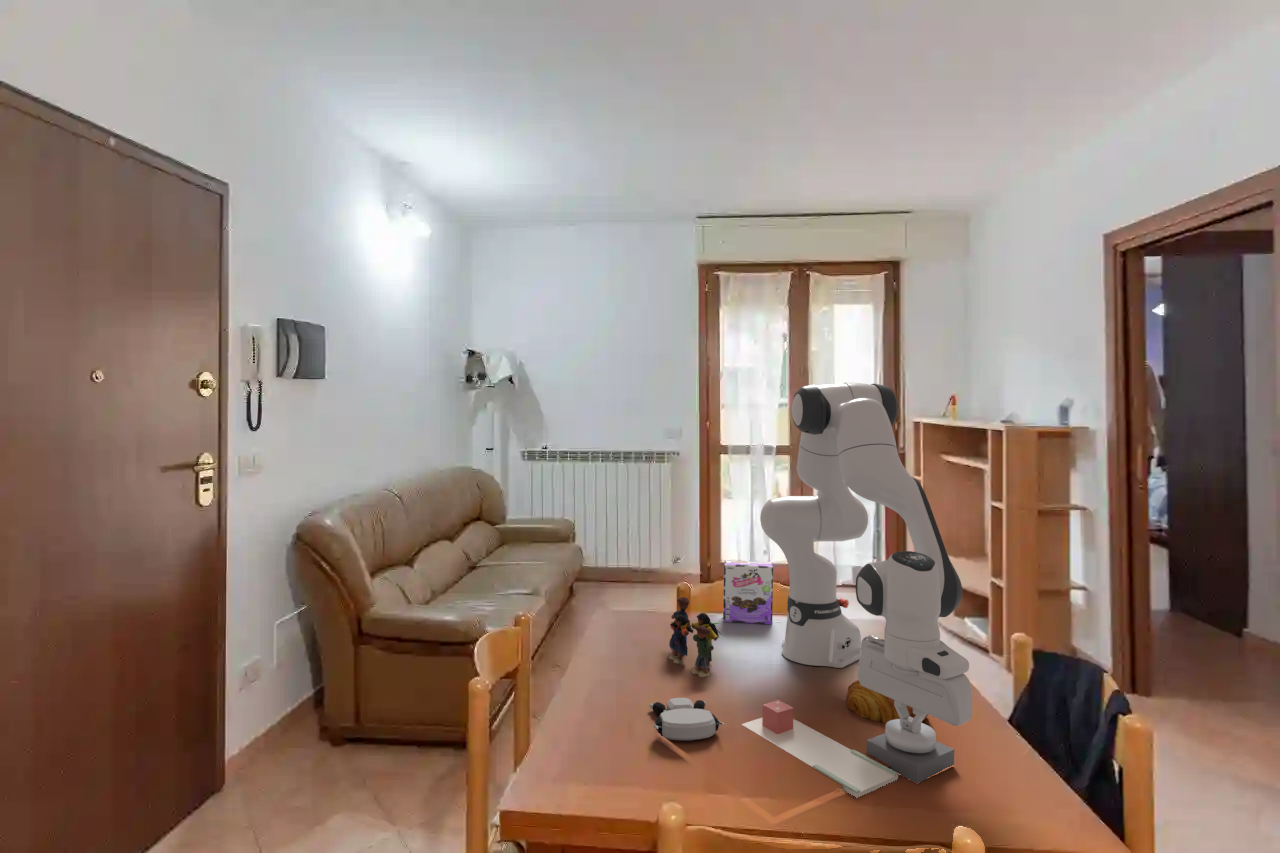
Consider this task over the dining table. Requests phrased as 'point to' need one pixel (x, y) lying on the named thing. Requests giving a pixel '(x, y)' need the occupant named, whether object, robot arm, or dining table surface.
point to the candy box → (748, 592)
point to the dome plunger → (910, 738)
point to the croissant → (872, 704)
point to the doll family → (703, 638)
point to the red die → (777, 716)
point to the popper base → (911, 759)
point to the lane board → (829, 757)
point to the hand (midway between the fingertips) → (910, 729)
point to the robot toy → (684, 720)
